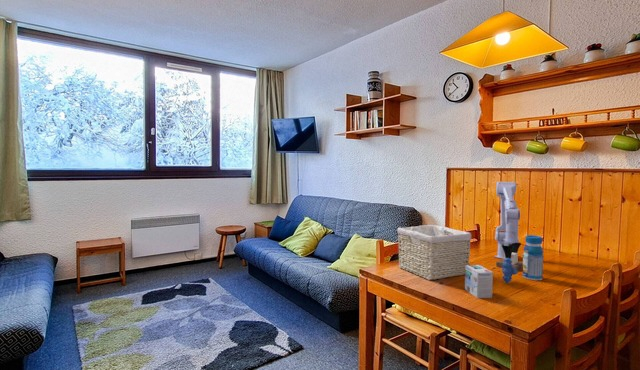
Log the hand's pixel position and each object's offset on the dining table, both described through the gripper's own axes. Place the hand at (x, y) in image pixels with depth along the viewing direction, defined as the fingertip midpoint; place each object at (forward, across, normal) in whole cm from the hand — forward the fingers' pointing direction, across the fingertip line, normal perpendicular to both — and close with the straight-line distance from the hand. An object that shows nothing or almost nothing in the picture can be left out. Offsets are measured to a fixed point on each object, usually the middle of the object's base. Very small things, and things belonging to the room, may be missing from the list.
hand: (511, 257), depth 186 cm
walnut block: (+6, 0, 0) cm, 6 cm away
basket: (+6, +36, -24) cm, 44 cm away
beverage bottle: (+5, +11, +14) cm, 18 cm away
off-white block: (+3, 0, 0) cm, 3 cm away
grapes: (+5, +27, +10) cm, 30 cm away
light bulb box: (+6, +50, +6) cm, 51 cm away
